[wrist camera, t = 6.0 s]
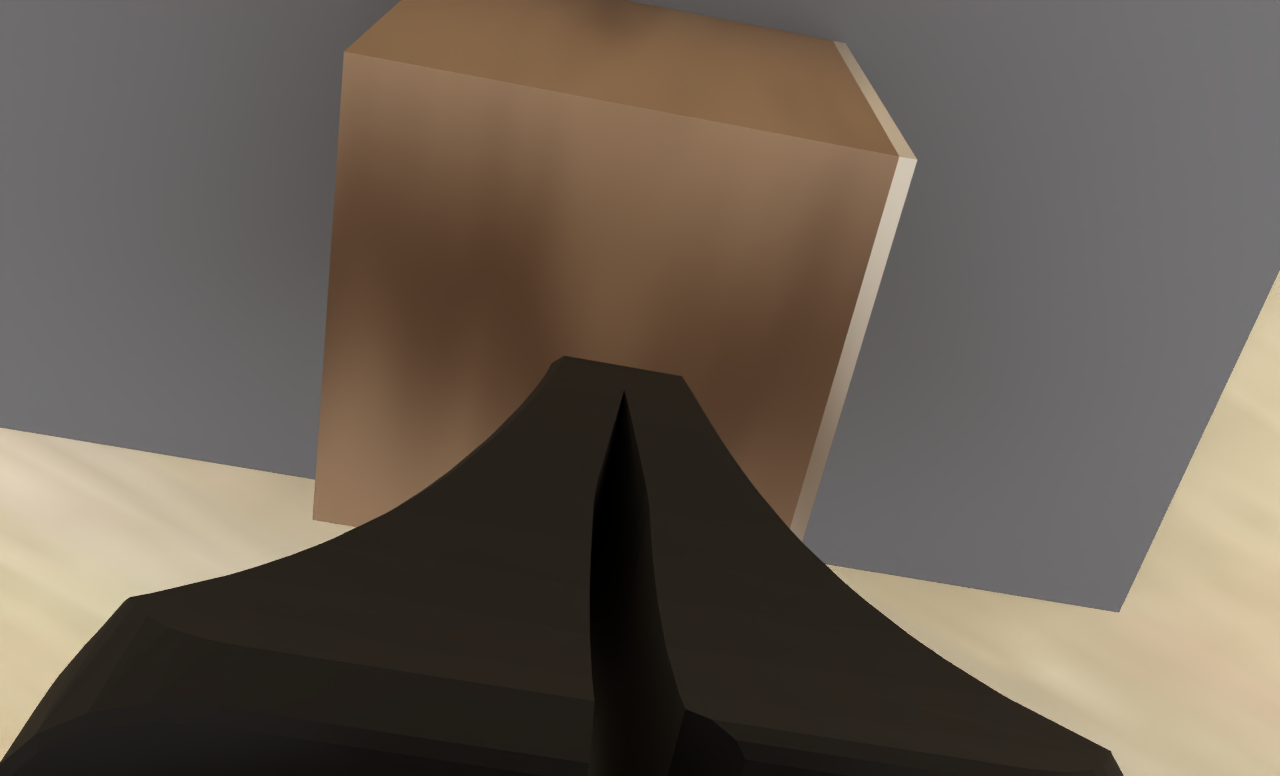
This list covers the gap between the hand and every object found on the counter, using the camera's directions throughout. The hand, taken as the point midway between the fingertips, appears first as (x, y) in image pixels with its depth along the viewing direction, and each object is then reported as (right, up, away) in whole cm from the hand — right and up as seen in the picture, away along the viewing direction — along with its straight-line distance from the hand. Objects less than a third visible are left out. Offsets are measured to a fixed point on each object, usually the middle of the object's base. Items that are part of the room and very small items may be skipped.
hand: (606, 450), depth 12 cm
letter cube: (+3, +2, +5) cm, 6 cm away
